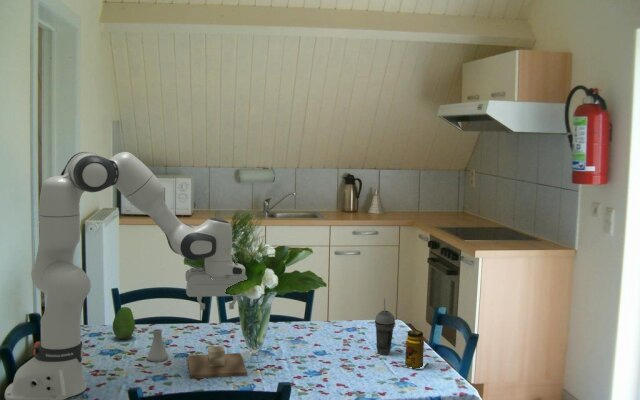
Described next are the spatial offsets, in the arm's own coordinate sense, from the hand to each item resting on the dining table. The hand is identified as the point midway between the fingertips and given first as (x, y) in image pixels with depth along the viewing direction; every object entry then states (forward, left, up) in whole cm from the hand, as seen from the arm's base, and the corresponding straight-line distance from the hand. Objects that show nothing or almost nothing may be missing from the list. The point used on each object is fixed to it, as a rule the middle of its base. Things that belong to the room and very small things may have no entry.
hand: (217, 309), depth 226 cm
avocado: (-31, +34, -20) cm, 50 cm away
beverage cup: (+60, +5, -20) cm, 63 cm away
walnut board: (0, 0, -20) cm, 20 cm away
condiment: (+67, -8, -20) cm, 70 cm away
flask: (-19, +11, -20) cm, 30 cm away
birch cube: (0, 0, -19) cm, 19 cm away
